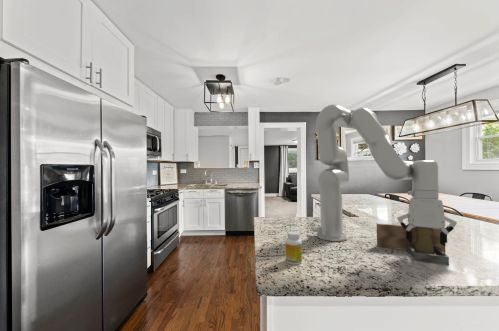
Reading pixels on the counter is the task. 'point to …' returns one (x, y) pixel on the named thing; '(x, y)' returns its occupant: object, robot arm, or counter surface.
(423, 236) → the olive tall block
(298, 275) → the counter surface
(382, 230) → the cleat board
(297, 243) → the supplement bottle
